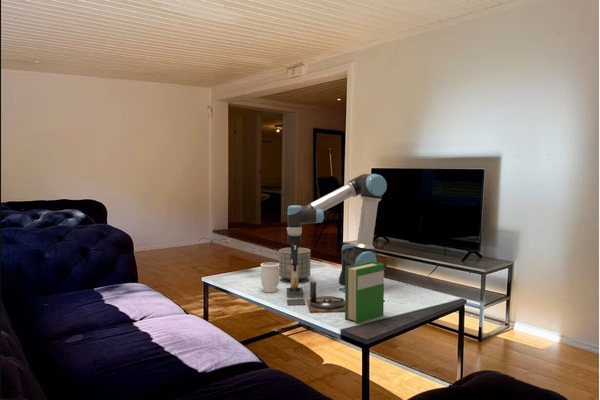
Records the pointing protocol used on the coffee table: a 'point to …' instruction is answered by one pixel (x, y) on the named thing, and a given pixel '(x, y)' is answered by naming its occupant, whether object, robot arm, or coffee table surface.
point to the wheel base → (319, 310)
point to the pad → (296, 302)
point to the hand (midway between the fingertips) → (293, 274)
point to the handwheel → (324, 300)
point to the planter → (302, 263)
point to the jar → (270, 276)
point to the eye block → (294, 293)
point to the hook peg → (293, 279)
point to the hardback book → (364, 291)
